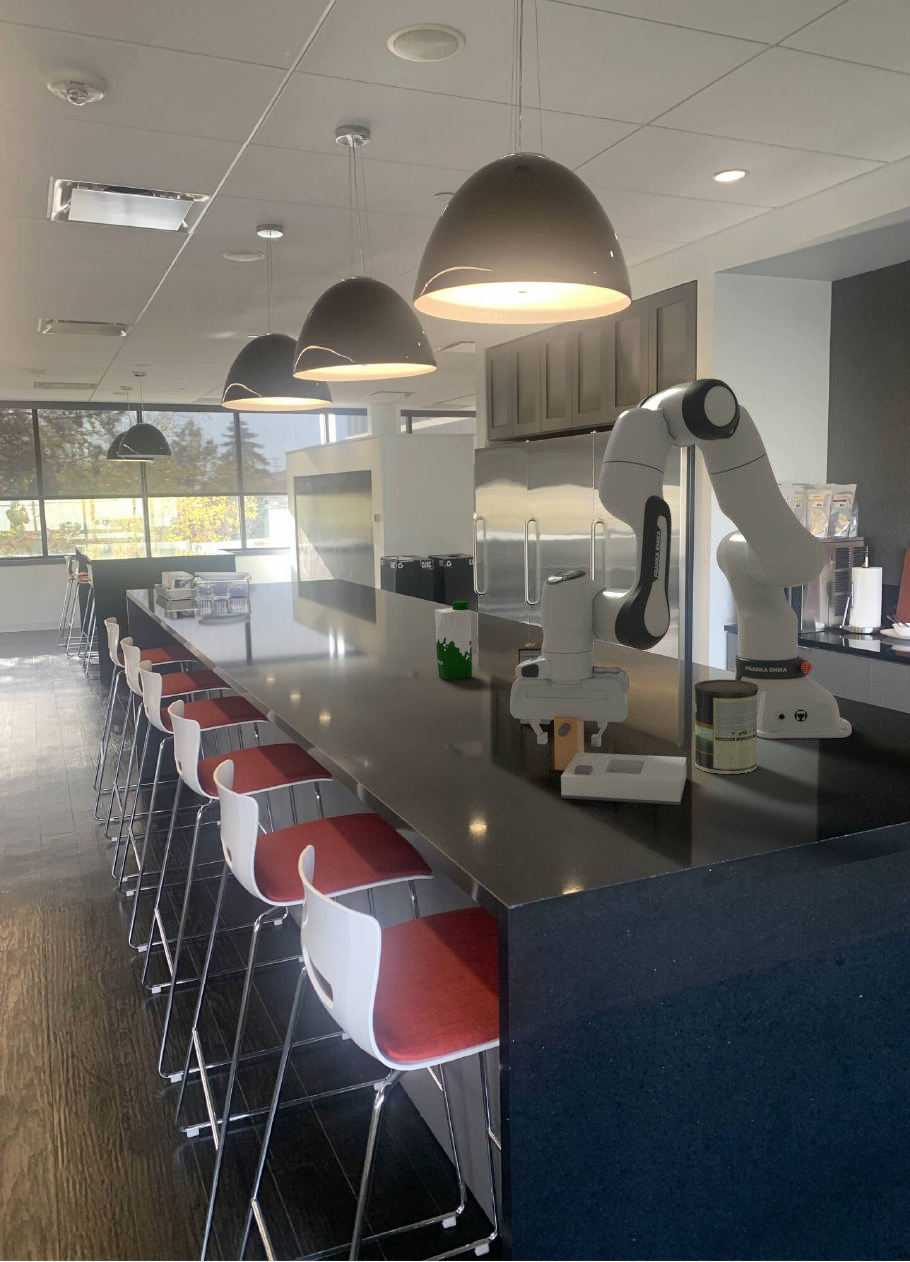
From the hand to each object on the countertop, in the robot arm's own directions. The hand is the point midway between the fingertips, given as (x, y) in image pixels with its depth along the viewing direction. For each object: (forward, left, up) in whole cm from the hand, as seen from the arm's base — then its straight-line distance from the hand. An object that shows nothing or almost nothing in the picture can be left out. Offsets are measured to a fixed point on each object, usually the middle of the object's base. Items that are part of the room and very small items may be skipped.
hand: (569, 744), depth 164 cm
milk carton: (+45, -77, -4) cm, 89 cm away
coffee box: (+13, -33, -4) cm, 36 cm away
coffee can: (-26, -4, -4) cm, 27 cm away
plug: (0, +1, -4) cm, 4 cm away
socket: (-11, +11, -4) cm, 16 cm away
